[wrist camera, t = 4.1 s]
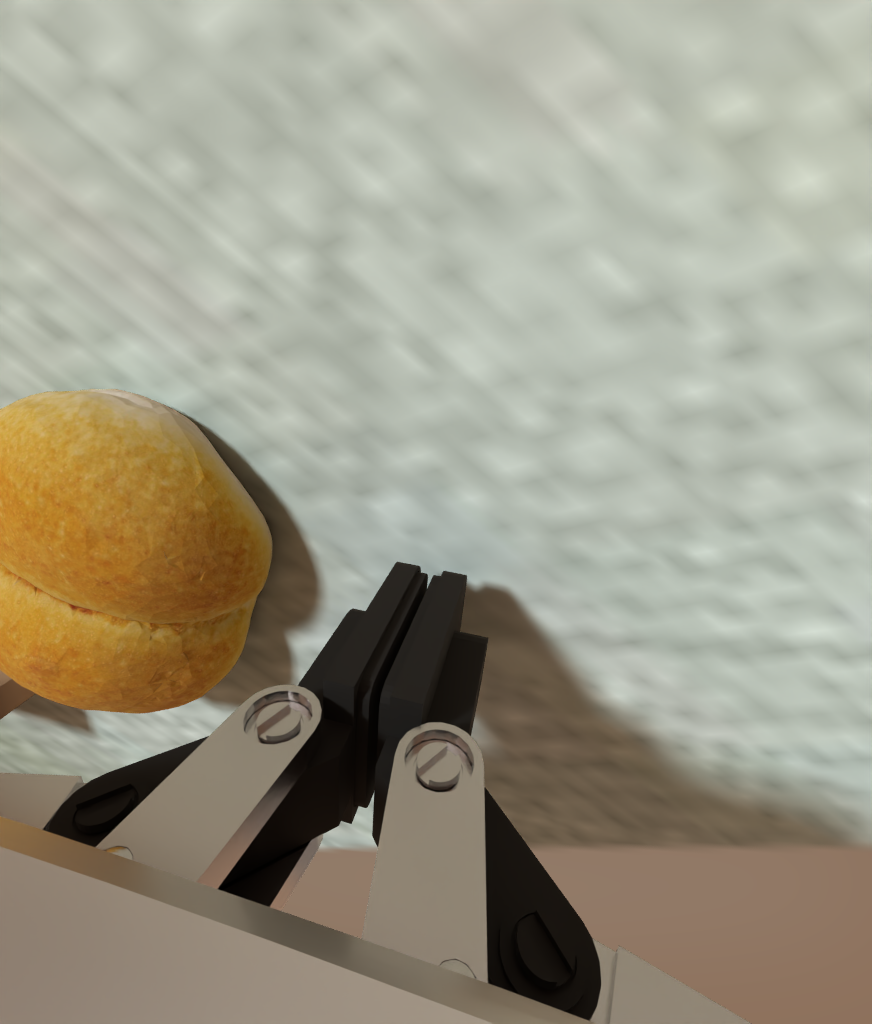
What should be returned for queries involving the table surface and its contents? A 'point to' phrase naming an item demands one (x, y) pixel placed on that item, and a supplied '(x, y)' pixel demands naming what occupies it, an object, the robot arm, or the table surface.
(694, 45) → the table surface
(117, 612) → the bread roll
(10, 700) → the frame
